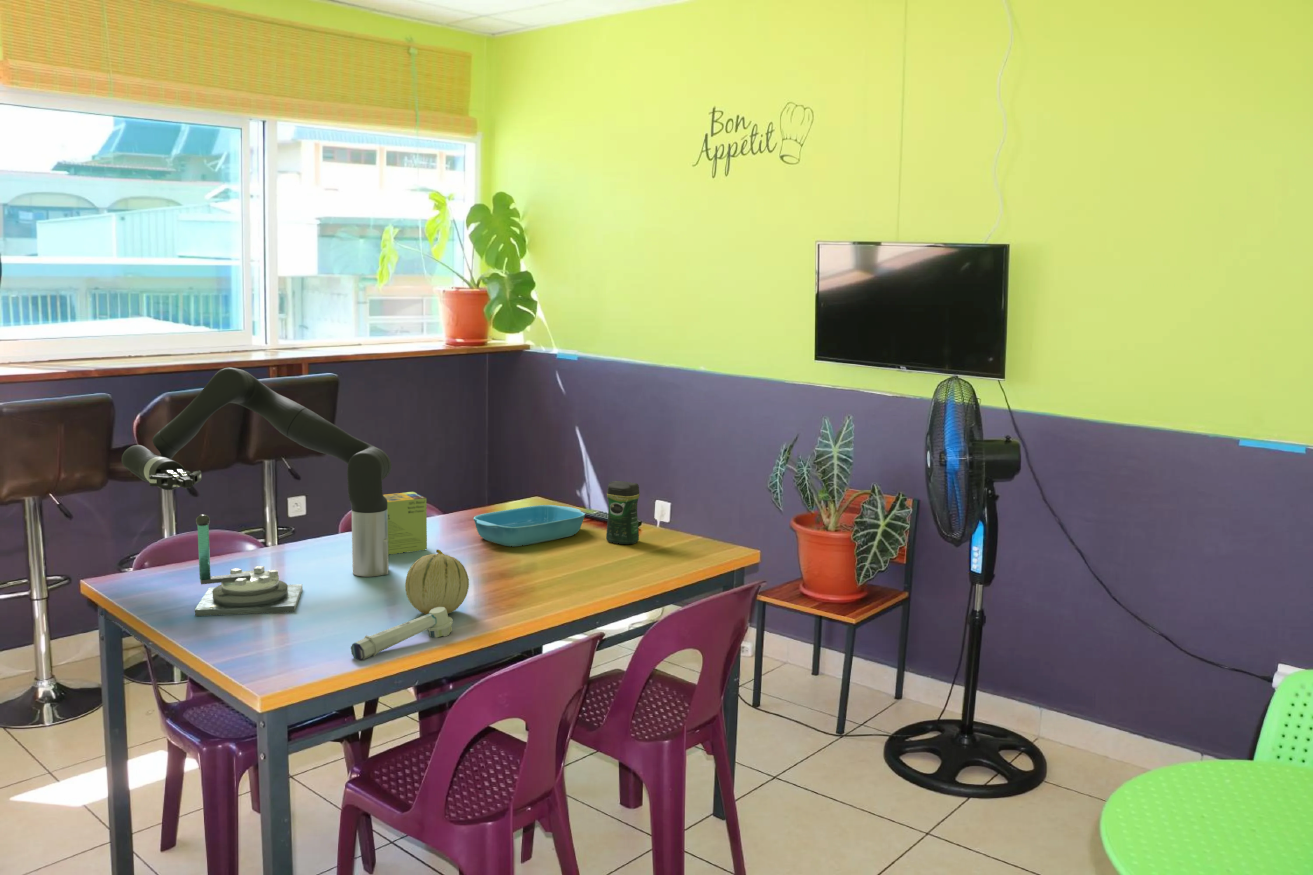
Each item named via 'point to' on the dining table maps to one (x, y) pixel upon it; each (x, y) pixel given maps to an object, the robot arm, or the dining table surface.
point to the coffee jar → (622, 512)
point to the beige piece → (404, 633)
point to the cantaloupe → (436, 583)
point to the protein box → (406, 522)
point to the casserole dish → (529, 524)
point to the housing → (249, 601)
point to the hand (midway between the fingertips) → (188, 483)
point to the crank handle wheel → (232, 570)
